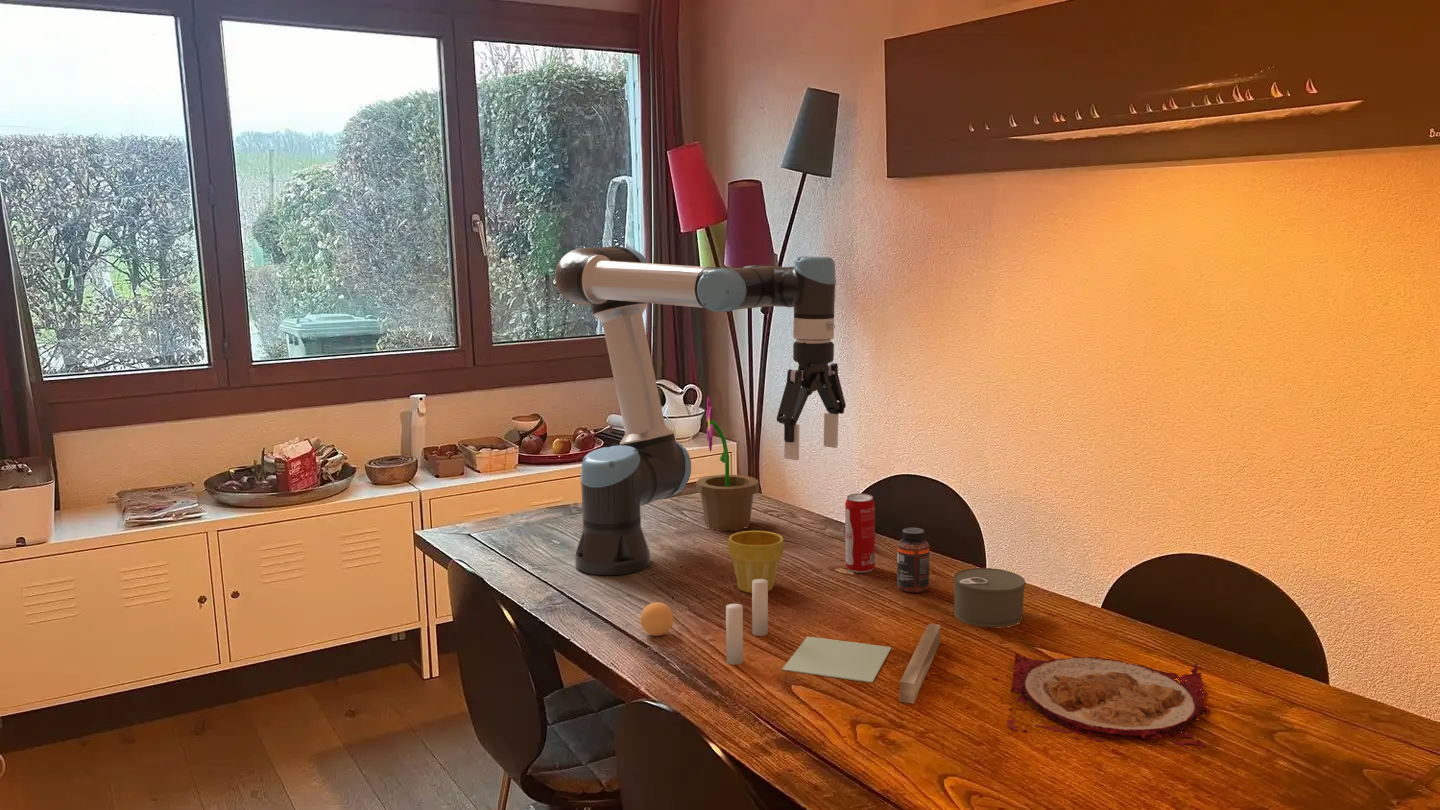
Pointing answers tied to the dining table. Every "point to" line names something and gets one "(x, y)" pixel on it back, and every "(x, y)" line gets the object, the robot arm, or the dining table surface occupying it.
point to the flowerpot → (725, 490)
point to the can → (988, 597)
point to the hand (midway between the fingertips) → (811, 452)
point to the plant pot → (755, 557)
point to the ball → (657, 619)
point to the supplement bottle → (913, 561)
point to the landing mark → (838, 659)
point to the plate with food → (1110, 697)
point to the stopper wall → (919, 664)
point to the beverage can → (860, 533)
